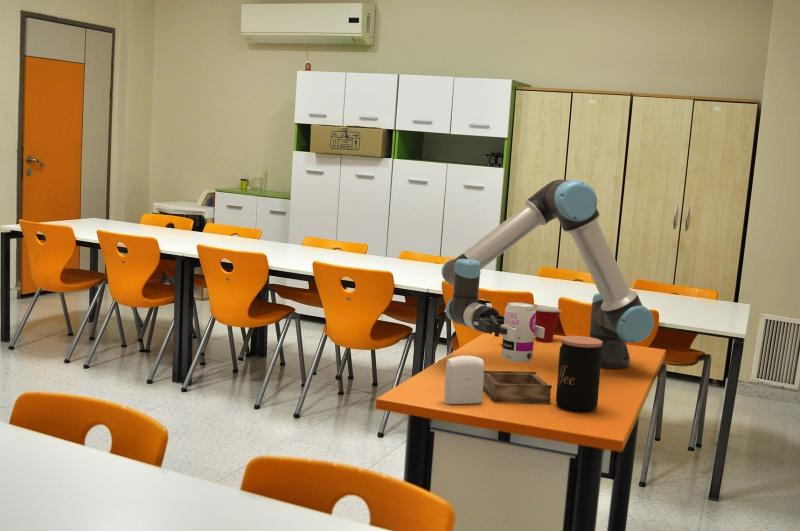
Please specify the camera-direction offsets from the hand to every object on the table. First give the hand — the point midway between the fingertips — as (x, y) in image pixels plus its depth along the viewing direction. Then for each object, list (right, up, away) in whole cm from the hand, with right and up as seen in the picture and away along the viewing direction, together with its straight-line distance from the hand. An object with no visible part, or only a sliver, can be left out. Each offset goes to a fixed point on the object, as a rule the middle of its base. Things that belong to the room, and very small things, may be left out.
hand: (529, 333), depth 228 cm
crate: (-3, -17, +6) cm, 19 cm away
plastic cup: (+18, -10, +86) cm, 89 cm away
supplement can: (-3, -8, +5) cm, 9 cm away
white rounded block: (-18, -18, -4) cm, 26 cm away
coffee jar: (+12, -19, -2) cm, 23 cm away
